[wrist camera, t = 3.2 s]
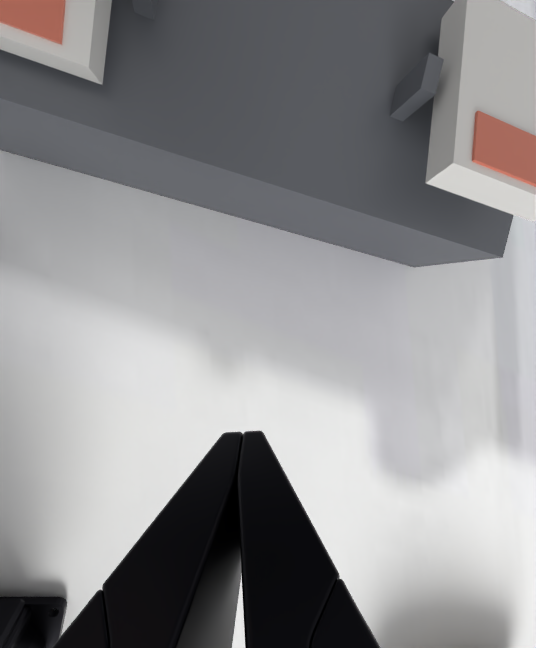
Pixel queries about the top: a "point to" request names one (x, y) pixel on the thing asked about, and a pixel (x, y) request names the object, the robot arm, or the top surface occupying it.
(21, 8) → the rocker switch
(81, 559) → the top surface
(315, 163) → the power strip
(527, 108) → the outlet rocker
